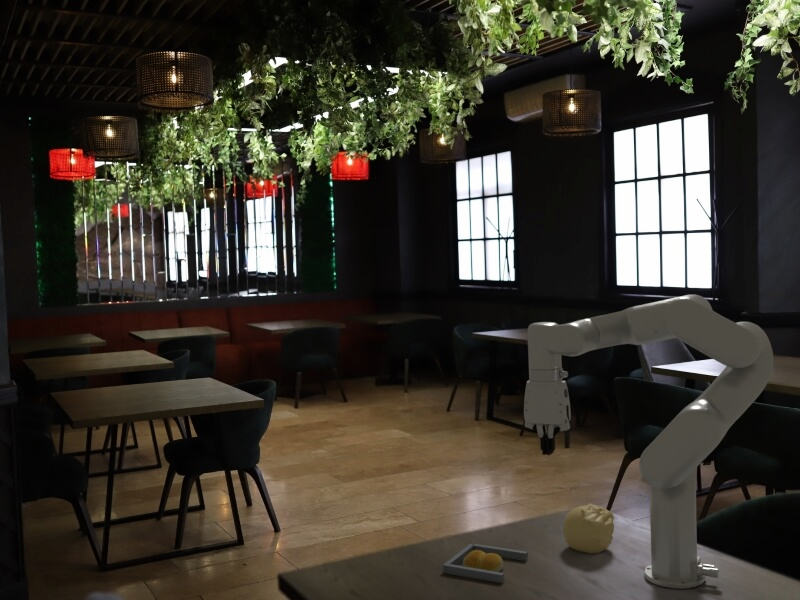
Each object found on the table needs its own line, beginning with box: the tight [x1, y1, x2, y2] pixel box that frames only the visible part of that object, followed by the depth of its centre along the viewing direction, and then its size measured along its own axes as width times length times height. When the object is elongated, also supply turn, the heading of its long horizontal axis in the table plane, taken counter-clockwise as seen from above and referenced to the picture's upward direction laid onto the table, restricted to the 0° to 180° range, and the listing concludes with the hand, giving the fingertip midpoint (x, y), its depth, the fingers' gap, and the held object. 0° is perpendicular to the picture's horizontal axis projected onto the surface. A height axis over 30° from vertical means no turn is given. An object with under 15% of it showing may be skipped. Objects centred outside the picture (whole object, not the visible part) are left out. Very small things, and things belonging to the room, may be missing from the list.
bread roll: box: [462, 550, 504, 573], centre depth 191 cm, size 8×9×4 cm
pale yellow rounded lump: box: [562, 503, 615, 554], centre depth 200 cm, size 12×12×11 cm
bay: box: [442, 543, 529, 584], centre depth 192 cm, size 15×15×2 cm
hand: (548, 453), depth 193 cm, fingers closed
